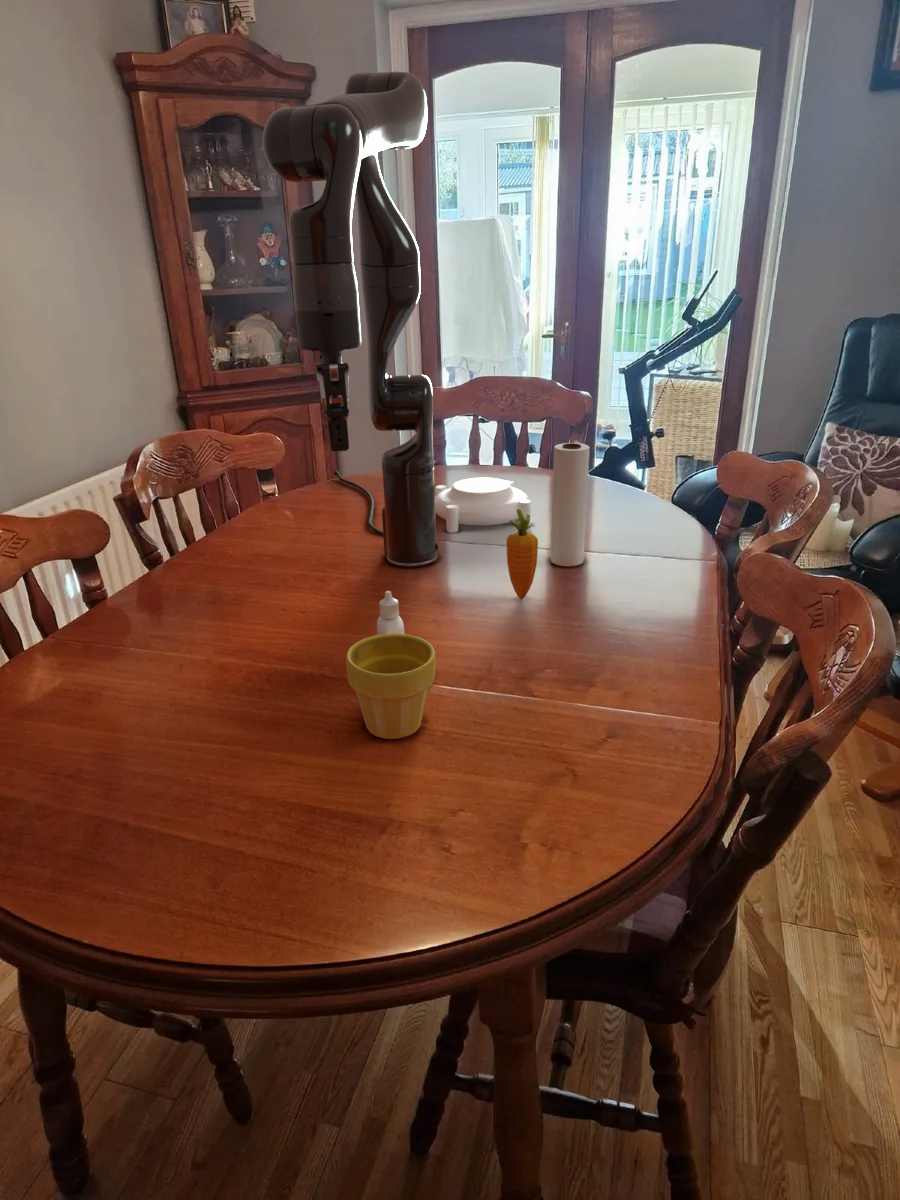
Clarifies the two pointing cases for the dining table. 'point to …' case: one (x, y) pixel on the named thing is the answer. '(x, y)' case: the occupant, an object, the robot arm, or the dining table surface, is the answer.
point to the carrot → (521, 555)
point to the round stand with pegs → (480, 502)
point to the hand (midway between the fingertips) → (338, 442)
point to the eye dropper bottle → (389, 616)
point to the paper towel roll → (569, 503)
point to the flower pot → (391, 681)
